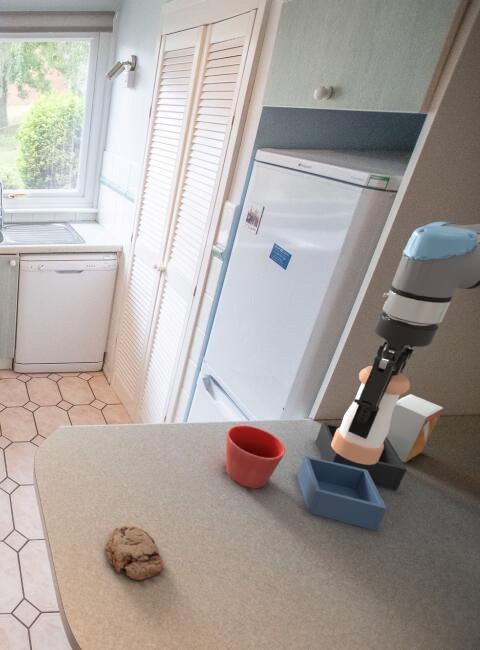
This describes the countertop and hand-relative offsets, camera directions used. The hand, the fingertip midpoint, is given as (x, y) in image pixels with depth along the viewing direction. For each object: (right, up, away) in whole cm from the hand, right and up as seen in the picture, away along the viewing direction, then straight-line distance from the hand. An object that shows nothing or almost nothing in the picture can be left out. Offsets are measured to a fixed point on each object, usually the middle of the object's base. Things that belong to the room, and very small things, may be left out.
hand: (364, 426), depth 87 cm
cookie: (-46, -23, -3) cm, 51 cm away
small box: (+27, -11, +22) cm, 36 cm away
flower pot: (-14, -15, +15) cm, 25 cm away
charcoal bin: (+13, -13, +17) cm, 25 cm away
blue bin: (0, -17, +8) cm, 19 cm away
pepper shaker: (0, -6, +2) cm, 6 cm away
